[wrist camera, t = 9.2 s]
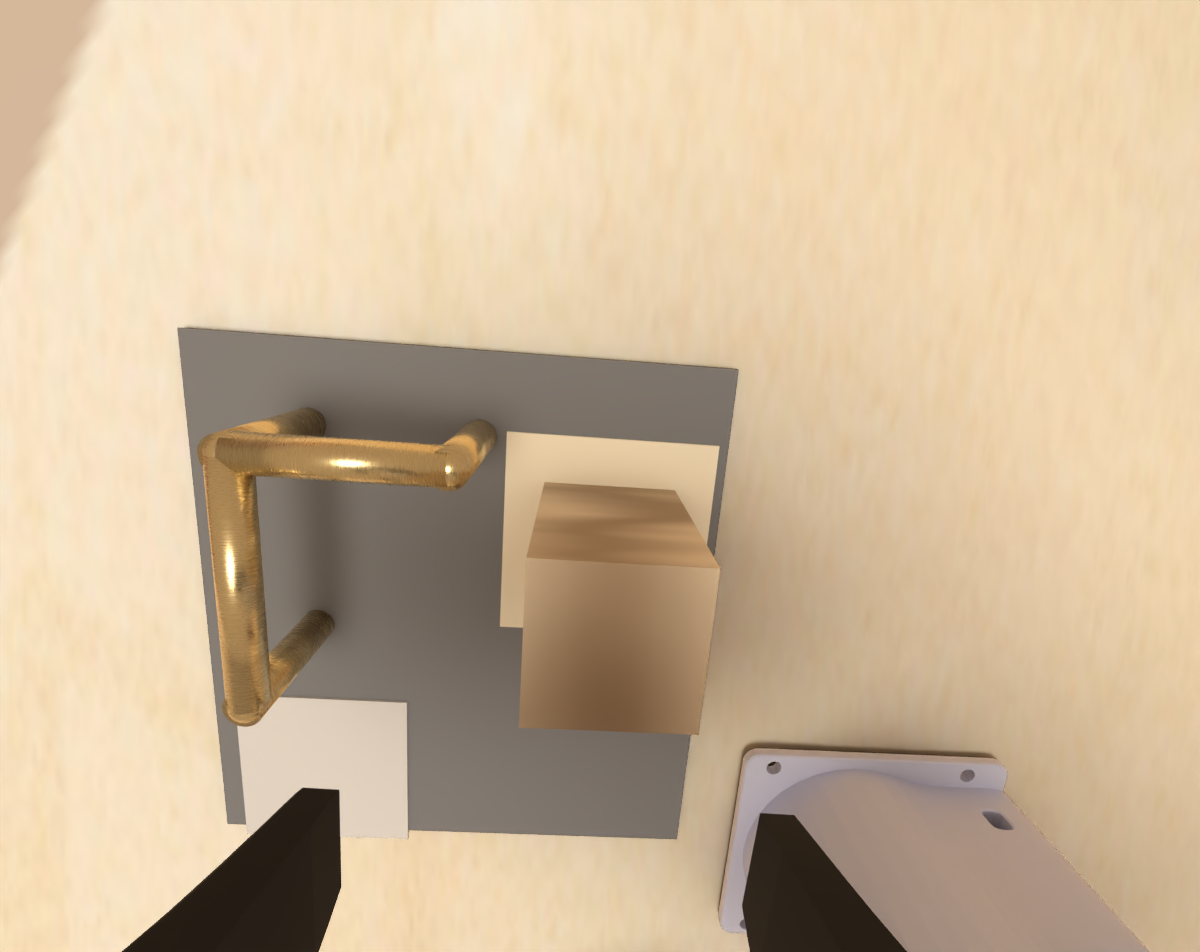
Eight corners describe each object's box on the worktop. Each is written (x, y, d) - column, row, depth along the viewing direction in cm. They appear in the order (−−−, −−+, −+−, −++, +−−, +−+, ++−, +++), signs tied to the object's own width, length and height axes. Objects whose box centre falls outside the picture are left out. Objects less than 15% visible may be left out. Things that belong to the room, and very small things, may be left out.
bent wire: (497, 420, 17) (468, 451, 13) (490, 646, 19) (462, 741, 15) (290, 406, 17) (188, 433, 12) (303, 636, 19) (218, 731, 14)
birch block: (674, 489, 18) (720, 568, 12) (662, 608, 19) (698, 734, 13) (544, 482, 17) (526, 558, 12) (538, 602, 18) (518, 727, 13)
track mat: (735, 369, 17) (739, 370, 17) (674, 838, 21) (676, 848, 21) (184, 327, 16) (175, 327, 16) (233, 823, 21) (226, 833, 20)
